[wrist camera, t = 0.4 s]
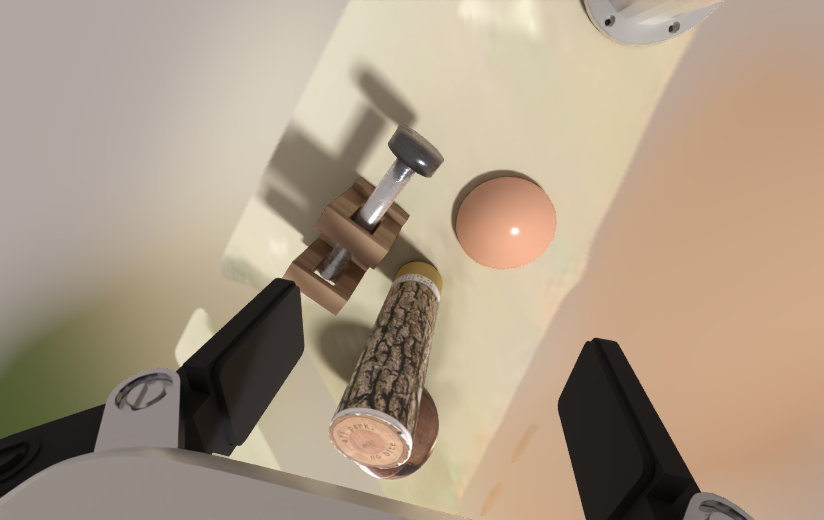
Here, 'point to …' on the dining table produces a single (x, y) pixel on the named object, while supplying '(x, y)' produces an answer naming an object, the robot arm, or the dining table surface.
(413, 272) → the paper tube
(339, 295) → the bearing housing
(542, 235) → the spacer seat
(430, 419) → the wooden sphere
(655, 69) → the dining table surface
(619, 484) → the robot arm
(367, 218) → the shaft
